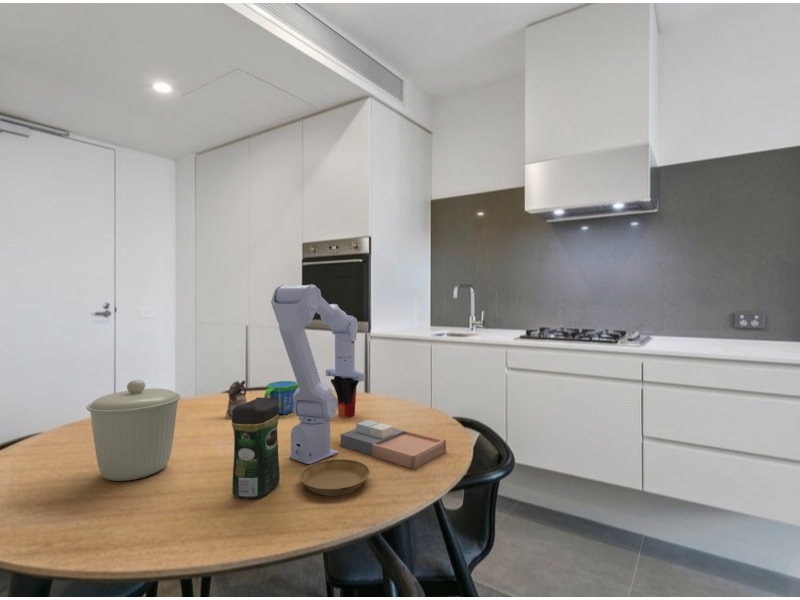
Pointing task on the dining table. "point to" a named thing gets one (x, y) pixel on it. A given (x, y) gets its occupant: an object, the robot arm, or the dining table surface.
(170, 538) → the dining table surface
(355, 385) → the robot arm
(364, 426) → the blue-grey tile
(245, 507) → the dining table surface
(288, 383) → the snack cup
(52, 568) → the dining table surface
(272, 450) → the coffee jar
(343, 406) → the paper cup
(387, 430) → the cream tile
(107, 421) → the canister
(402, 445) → the terracotta tray
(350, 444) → the charcoal board
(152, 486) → the dining table surface
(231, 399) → the figurine
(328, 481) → the plant saucer
